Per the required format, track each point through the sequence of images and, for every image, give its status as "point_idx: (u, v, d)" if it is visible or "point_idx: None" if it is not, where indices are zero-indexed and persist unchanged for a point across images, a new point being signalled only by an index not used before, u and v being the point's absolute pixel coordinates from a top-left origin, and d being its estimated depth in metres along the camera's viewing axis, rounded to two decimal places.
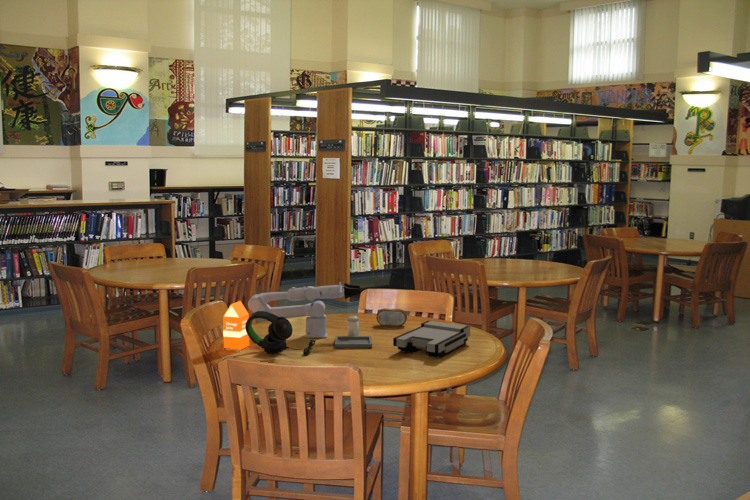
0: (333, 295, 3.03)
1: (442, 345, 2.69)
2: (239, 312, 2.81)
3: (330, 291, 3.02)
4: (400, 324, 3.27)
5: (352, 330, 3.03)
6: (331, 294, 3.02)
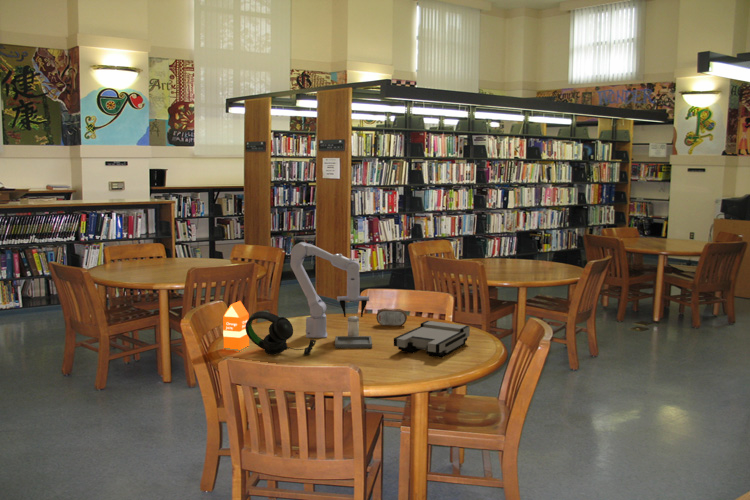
0: None
1: (442, 344, 2.70)
2: (239, 312, 2.81)
3: (347, 287, 3.02)
4: (400, 324, 3.27)
5: (352, 330, 3.03)
6: None
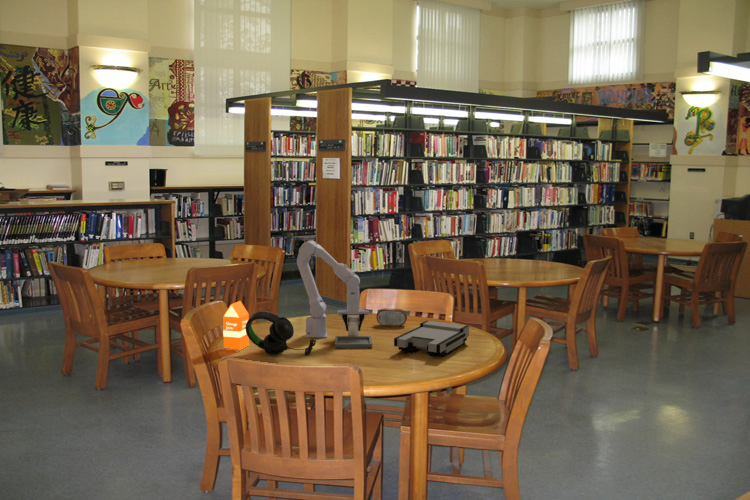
0: None
1: (443, 344, 2.70)
2: (239, 312, 2.81)
3: (347, 302, 3.03)
4: (400, 324, 3.27)
5: (352, 330, 3.03)
6: None
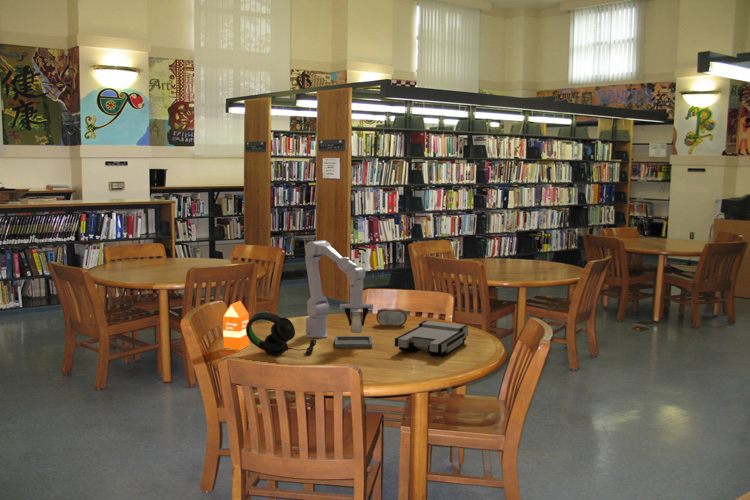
0: None
1: (444, 344, 2.70)
2: (239, 312, 2.81)
3: (350, 295, 2.90)
4: (400, 324, 3.27)
5: (355, 325, 2.90)
6: None
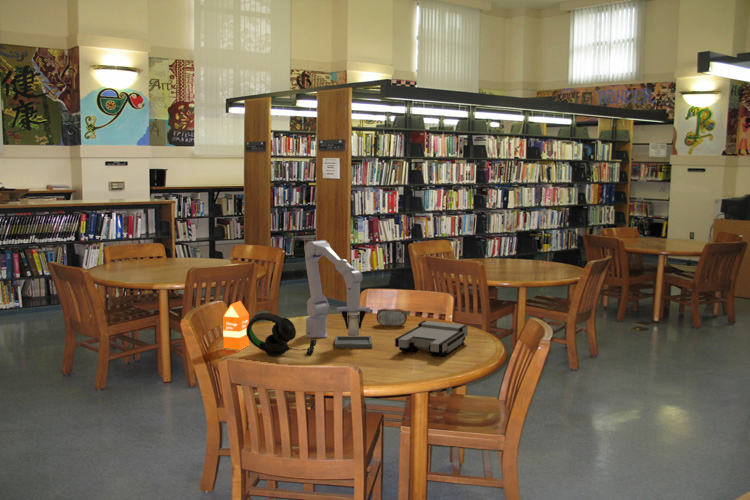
0: None
1: (445, 344, 2.70)
2: (239, 312, 2.81)
3: (347, 298, 2.90)
4: (400, 324, 3.27)
5: (352, 328, 2.90)
6: None
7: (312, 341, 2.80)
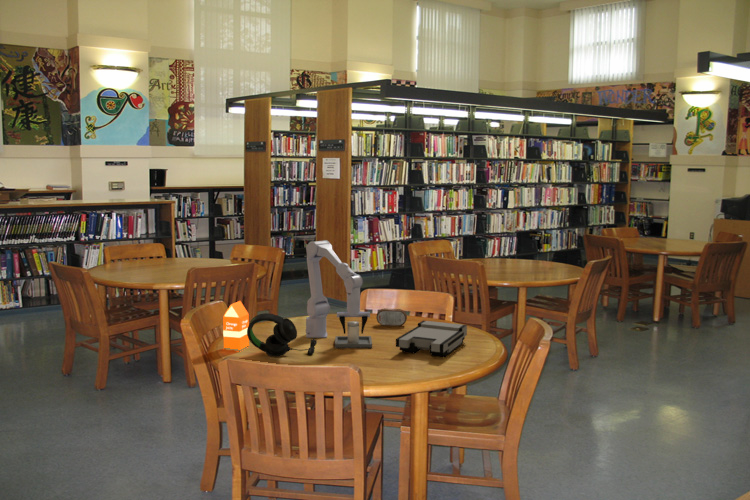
0: None
1: (446, 344, 2.70)
2: (239, 312, 2.81)
3: (347, 303, 2.90)
4: (400, 324, 3.27)
5: (352, 336, 2.90)
6: None
7: (312, 341, 2.80)
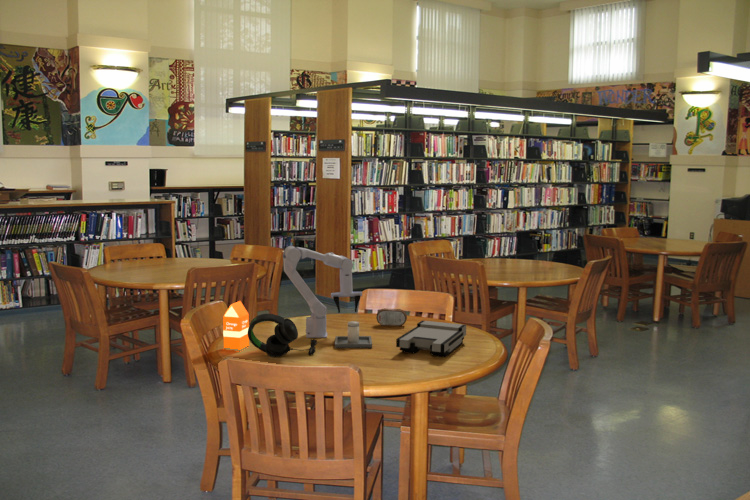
0: None
1: (446, 344, 2.70)
2: (239, 312, 2.81)
3: (340, 284, 3.08)
4: (400, 324, 3.27)
5: (352, 336, 2.90)
6: None
7: (313, 341, 2.80)
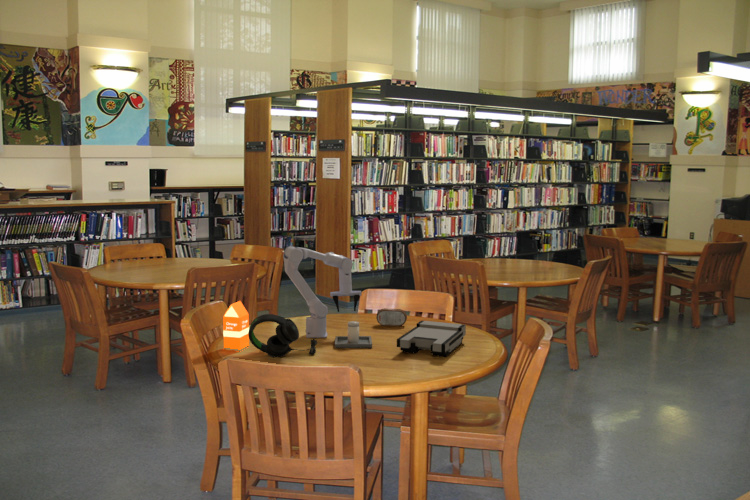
0: None
1: (447, 344, 2.71)
2: (239, 312, 2.81)
3: (339, 283, 3.09)
4: (400, 324, 3.27)
5: (352, 336, 2.90)
6: None
7: (313, 341, 2.80)
